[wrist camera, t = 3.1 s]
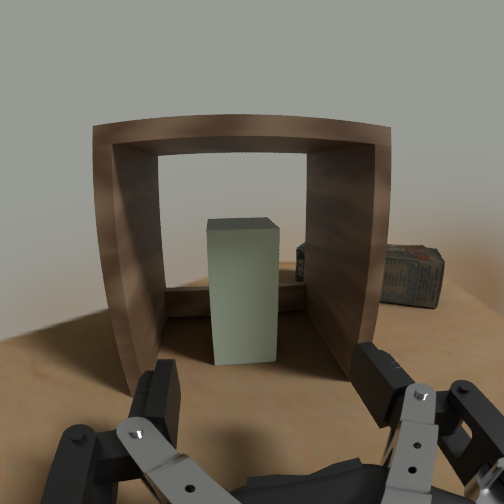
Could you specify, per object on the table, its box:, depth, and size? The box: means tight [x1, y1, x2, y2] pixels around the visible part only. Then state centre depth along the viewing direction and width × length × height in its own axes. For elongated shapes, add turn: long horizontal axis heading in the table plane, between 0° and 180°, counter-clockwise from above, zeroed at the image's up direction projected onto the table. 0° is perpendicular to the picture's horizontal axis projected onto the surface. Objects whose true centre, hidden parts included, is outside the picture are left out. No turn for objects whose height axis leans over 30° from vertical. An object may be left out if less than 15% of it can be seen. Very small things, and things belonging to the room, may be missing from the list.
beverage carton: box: [295, 243, 445, 308], centre depth 37 cm, size 8×19×7 cm, turn 64°
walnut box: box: [93, 114, 391, 397], centre depth 24 cm, size 17×14×18 cm
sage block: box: [206, 217, 280, 365], centre depth 24 cm, size 5×5×11 cm
